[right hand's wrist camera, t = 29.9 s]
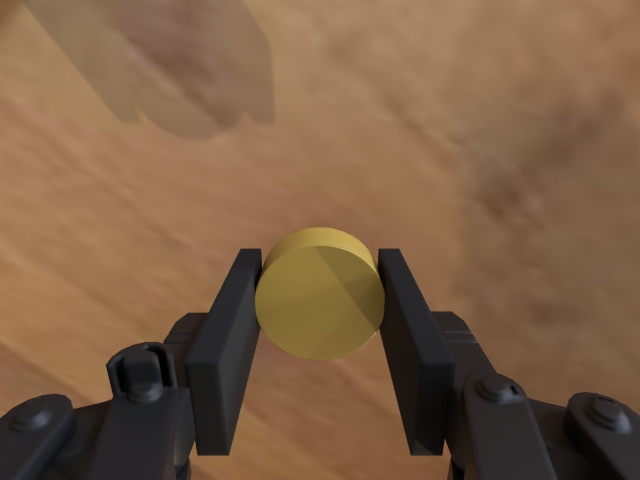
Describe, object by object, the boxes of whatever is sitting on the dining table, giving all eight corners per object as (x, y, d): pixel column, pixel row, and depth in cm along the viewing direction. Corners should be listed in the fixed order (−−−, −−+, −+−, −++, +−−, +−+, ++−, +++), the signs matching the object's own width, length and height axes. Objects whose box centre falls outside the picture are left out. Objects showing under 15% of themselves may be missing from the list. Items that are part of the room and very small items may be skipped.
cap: (240, 299, 15) (231, 325, 13) (298, 204, 14) (295, 219, 12) (338, 349, 16) (340, 379, 14) (401, 263, 15) (412, 286, 13)
